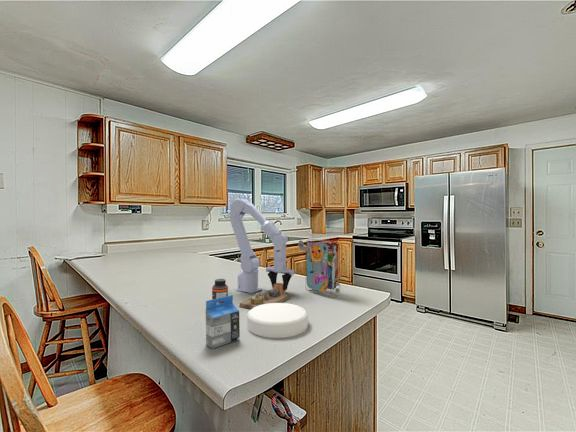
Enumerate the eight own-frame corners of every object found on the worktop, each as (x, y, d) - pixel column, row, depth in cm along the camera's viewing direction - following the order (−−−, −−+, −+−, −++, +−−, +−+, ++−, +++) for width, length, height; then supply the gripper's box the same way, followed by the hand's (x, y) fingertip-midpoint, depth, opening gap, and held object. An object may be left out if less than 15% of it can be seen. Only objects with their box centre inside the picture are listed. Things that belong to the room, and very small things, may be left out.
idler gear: (271, 293, 131) (271, 284, 131) (278, 290, 135) (278, 282, 135) (281, 295, 128) (281, 286, 128) (287, 292, 133) (287, 283, 133)
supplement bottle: (211, 307, 111) (211, 278, 111) (226, 305, 113) (226, 277, 113) (212, 312, 105) (213, 282, 105) (229, 310, 107) (229, 280, 107)
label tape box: (212, 349, 76) (212, 304, 76) (205, 344, 79) (205, 300, 79) (240, 340, 82) (240, 297, 82) (232, 335, 85) (232, 294, 85)
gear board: (239, 306, 112) (239, 294, 112) (269, 294, 129) (269, 283, 129) (262, 311, 106) (262, 298, 106) (289, 298, 123) (289, 286, 123)
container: (234, 325, 94) (234, 311, 94) (279, 310, 108) (279, 298, 108) (275, 345, 80) (275, 328, 80) (320, 325, 94) (320, 311, 94)
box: (293, 287, 142) (293, 238, 142) (302, 285, 146) (303, 237, 146) (330, 299, 123) (331, 242, 123) (340, 296, 127) (340, 241, 126)
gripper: (297, 259, 131) (297, 289, 131) (271, 257, 139) (271, 284, 139) (289, 261, 125) (289, 292, 125) (263, 258, 133) (263, 288, 133)
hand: (279, 288), depth 132 cm, fingers closed on idler gear, 5 cm apart
